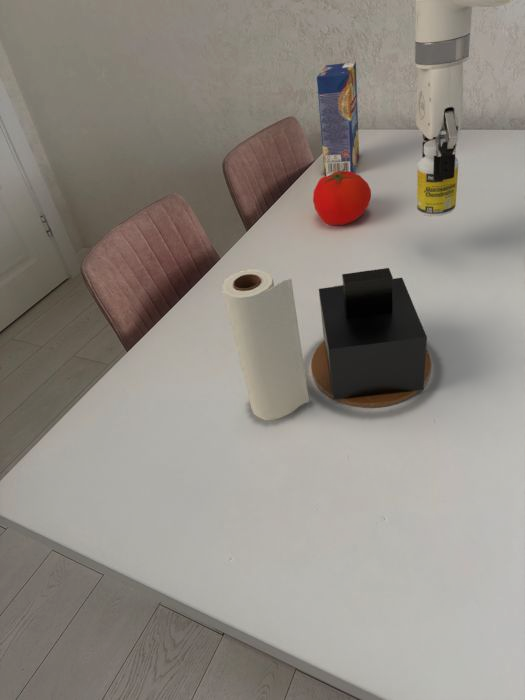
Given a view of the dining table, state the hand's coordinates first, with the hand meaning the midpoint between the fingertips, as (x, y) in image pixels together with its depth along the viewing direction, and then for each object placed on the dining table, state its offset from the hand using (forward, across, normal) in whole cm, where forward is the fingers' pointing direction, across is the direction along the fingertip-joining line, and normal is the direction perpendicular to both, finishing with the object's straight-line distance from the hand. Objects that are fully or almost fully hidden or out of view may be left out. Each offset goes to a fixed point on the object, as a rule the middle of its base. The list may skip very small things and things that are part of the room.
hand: (437, 170), depth 84 cm
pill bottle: (+7, 0, 0) cm, 7 cm away
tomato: (+16, -20, -15) cm, 30 cm away
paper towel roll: (+16, +36, -31) cm, 50 cm away
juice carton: (+16, -52, -11) cm, 56 cm away
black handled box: (+15, +30, -17) cm, 37 cm away
